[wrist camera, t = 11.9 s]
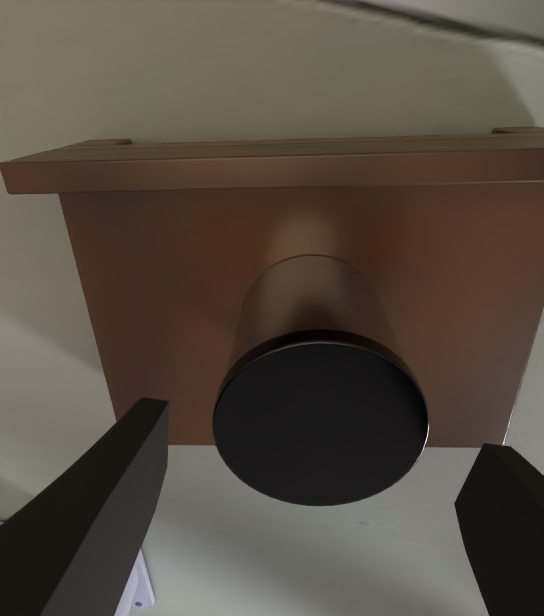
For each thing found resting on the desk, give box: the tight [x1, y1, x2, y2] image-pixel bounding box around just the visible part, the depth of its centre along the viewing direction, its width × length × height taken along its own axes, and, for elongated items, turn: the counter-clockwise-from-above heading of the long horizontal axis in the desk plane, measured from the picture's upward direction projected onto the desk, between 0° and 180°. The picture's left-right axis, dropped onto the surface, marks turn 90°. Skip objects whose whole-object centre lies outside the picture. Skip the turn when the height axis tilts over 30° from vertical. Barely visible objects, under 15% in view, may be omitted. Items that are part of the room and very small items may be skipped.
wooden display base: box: [0, 127, 544, 448], centre depth 16 cm, size 16×12×5 cm
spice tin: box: [212, 256, 430, 506], centre depth 13 cm, size 5×5×6 cm
